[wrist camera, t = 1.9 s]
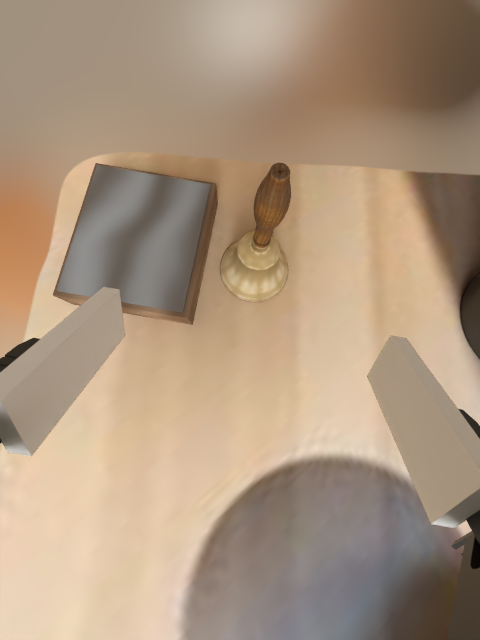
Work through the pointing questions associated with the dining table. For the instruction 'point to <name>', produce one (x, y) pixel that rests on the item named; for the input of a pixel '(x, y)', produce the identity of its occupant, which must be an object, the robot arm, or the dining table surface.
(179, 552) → the dining table surface
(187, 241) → the walnut stand
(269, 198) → the hand bell
